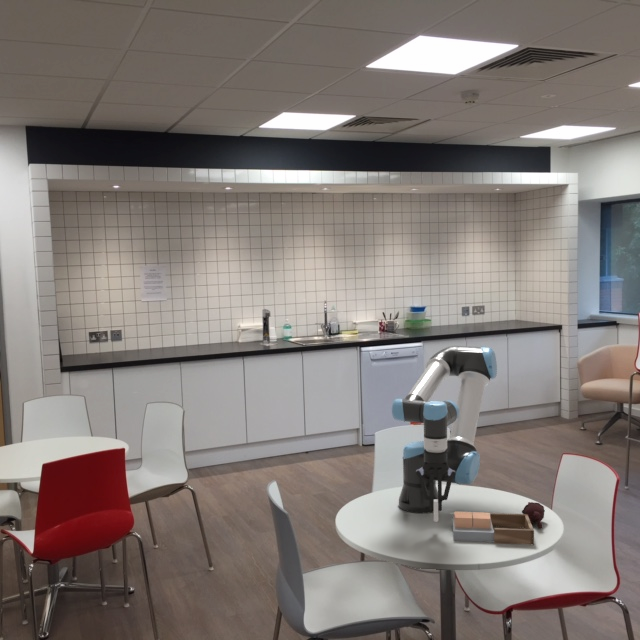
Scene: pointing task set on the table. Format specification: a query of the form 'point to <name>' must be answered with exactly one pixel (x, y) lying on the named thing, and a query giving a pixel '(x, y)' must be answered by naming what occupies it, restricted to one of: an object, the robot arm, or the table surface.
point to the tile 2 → (481, 520)
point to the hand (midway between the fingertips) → (435, 520)
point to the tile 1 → (463, 519)
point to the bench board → (473, 533)
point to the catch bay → (512, 535)
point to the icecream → (534, 513)
